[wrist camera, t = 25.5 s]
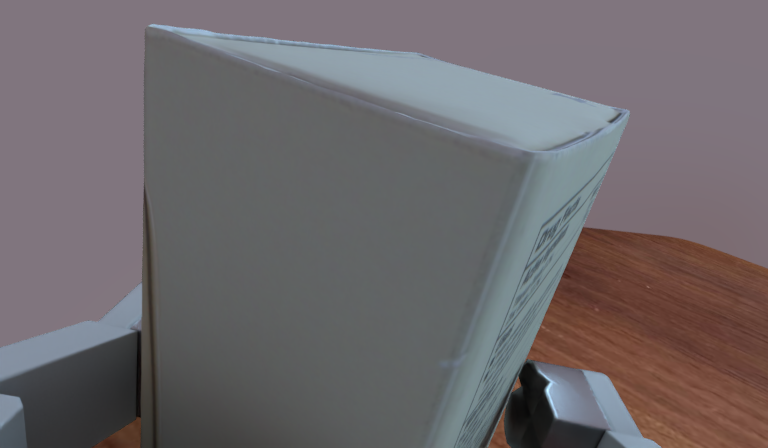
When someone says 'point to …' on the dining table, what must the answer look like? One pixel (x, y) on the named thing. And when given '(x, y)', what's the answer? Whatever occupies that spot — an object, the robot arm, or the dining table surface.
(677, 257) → the dining table surface
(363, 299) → the cosmetic box
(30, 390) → the robot arm
